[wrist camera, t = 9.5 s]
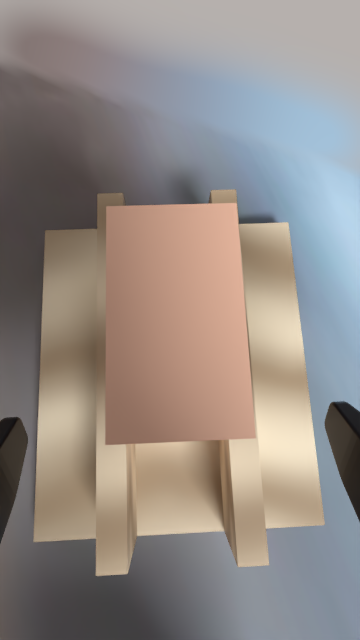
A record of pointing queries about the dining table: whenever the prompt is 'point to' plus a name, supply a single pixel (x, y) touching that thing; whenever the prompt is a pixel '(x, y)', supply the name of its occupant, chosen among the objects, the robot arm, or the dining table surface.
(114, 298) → the pink rectangular block
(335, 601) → the dining table surface
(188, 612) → the dining table surface
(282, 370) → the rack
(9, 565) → the dining table surface
